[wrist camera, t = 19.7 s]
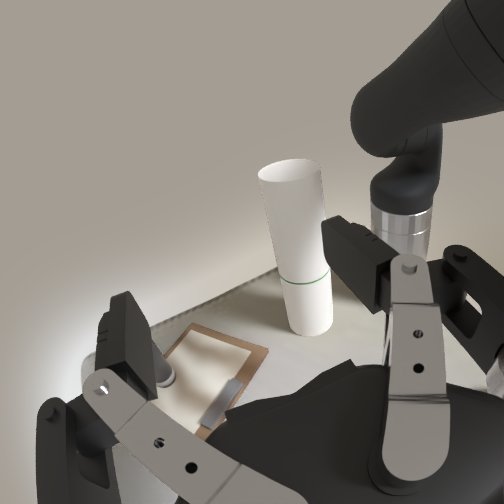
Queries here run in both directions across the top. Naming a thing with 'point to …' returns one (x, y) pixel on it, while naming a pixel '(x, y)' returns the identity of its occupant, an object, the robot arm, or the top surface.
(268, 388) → the top surface
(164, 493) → the top surface
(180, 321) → the top surface
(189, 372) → the clipboard
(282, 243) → the cylindrical container
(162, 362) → the marker
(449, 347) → the top surface
